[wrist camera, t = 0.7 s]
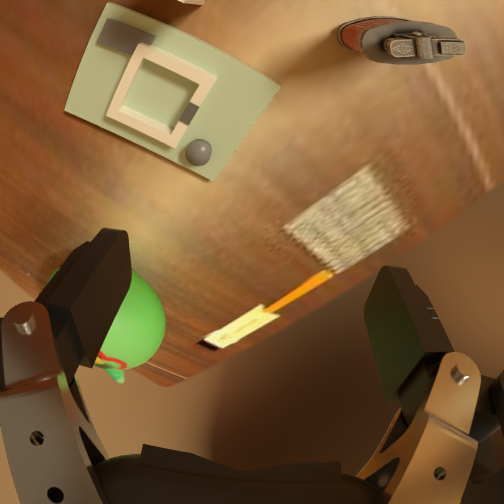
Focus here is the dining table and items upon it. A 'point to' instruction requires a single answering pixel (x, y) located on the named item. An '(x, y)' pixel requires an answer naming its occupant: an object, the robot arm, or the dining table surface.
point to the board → (167, 90)
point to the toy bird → (132, 330)
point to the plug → (193, 1)
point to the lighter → (400, 40)
